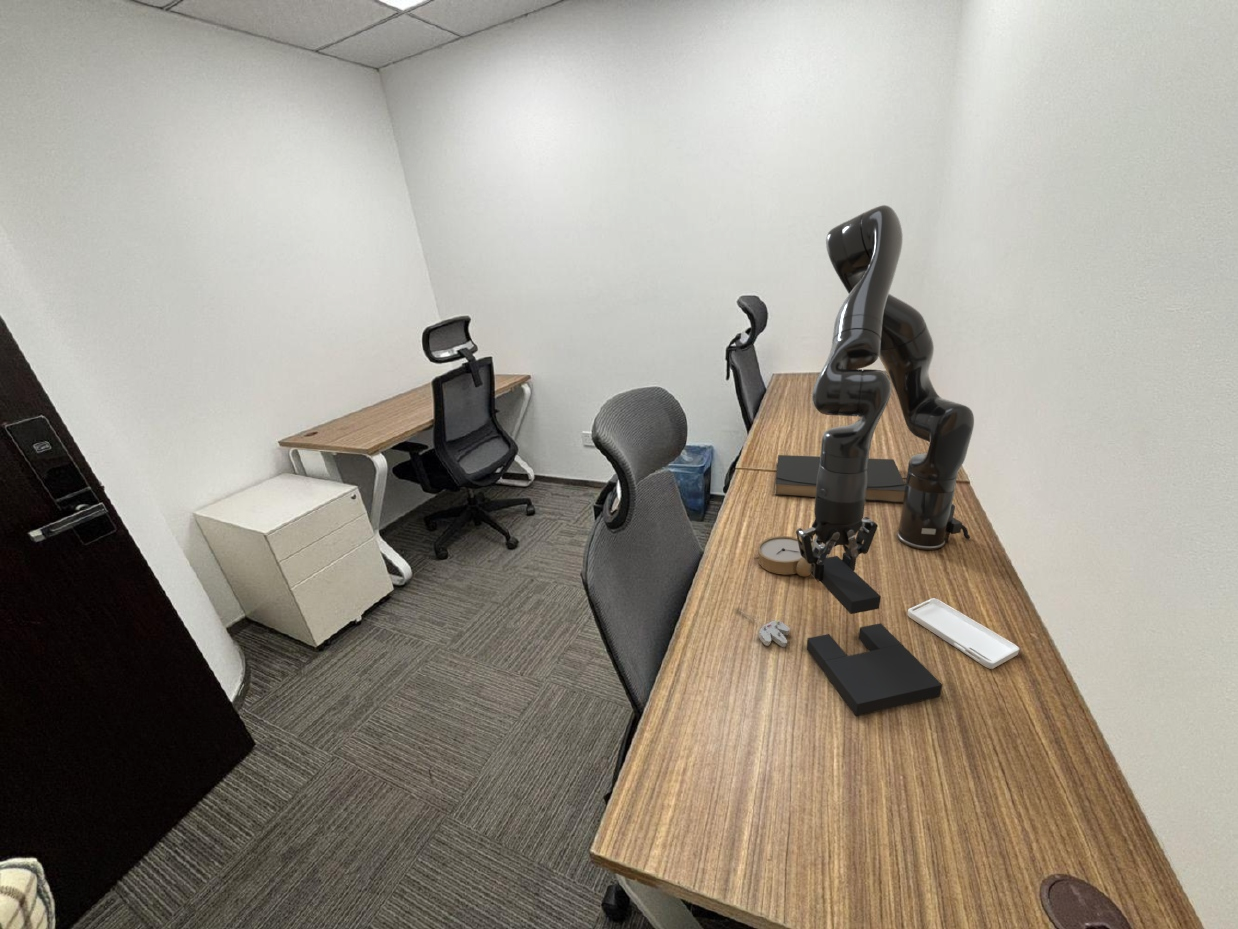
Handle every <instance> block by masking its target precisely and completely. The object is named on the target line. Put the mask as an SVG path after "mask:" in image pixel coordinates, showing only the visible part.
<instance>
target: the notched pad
mask: <svg viewBox="0 0 1238 929" xmlns="http://www.w3.org/2000/svg"><path fill="white" fill-rule="evenodd" d="M857 638H858V640H859V642H861V643H862V645H863V646H864V647H865V648H866V649H867V650H868V651H864V652H859V653H855V654H849V655H847V653H846V652H845V651H844V649H843V648H841V646H840V645H839V644H838V643H837V641H836V640H835V639H834V637H833V636H832V635H831V634H830V633H826V634H822V635H817V636H812V637H808V638H807V640H806V651H807V652H808V653H809V655H810V656H811V658H812V659H813V660H814V662H815V663H816V664H817V666H818V667H819V668H820V670H821V671H822V672H823V673H824V675H825V677H826V678H827V679H828V681H829V682H830V683H831V685H832V686H833V687H834V689H835V690H836V691H837V693H838V694H839V695H840V697H841V698H842V699H843V702H845V703H846V705H847V706H848V708H849V710H851V711H852V713H853V714H854V716H855V717H858V716H863V715H867V714H871V713H876V712H879V711H880V712H881V711H884V710H888V709H892V708H897V707H901V706H905V705H910V704H914V703H919V702H923V701H927V700H931V699H935V698H939V697H940V696H941V693H942V689H943V684H942V683H941V681H940V680H939V679H938V678H937V677H935V676H934V674H932V673H931V672H930V671H929V670H928V669H927V667H926V666H924V664H922V663H921V661H920V660H919V659H917V658H916V657H915V656H914V655H913V654H912V652H910V651H909V649H908V648H906V647H905V645H903V644H902V643H901V642H900V641H899V639H898V638H896V636H894V635H893V634H892V632H890V631H889V630H888V628H886V627H885V626H884V625H883V623H881V622H880V623H874V624H869V625H864V626H860V627H859V631H858V637H857Z"/></svg>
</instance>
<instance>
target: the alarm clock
mask: <svg viewBox="0 0 1238 929" xmlns="http://www.w3.org/2000/svg"><path fill="white" fill-rule="evenodd" d="M813 542H814V541H813ZM813 542H812V543H811V545H812V549H813V546H814V545H813ZM756 549H757V555H756V556H754V557H753V560H758V564H759V566H760V567H761V568H762V569H764V570H766V571H767V572H770V573H773V574H777V575H785V576H786V575H795V574H797V575H798V576H800V577H809V576H810V575H811V573H810V569H811V564H809V563H808V562H807V561H806V560H805V559H804V558H803V557H802V556H801V554H800V550H799V545H798V540H797V537H794V536H791V535H790V536H789V535H776V536H775V535H774V536H771V537H767V538H766V539H763V540H762V541H761V542H760V543H758V546H757V548H756ZM819 553H820V551H819ZM818 555H819V554H818ZM828 557H829V556H828V555H827V556H826V558H828Z"/></svg>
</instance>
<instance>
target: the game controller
mask: <svg viewBox="0 0 1238 929" xmlns="http://www.w3.org/2000/svg"><path fill="white" fill-rule="evenodd" d="M739 611H740V612H742V613H743V614H744V616H745V617H746V618H748V619H749V620H751V618H750V617H748V616H747V615H746V613H745V612H744V611H742V610H741V609H739ZM752 620H755V621H757V622H758V623H759V625H762V624H761V622H760V621H759V620H758V619H756V618H754V617H753V618H752ZM789 633H790V627H789V626H788V625H786V624H785V623H784V622H783V621H781V620H772V621H768V622H767V623H766V624H764V625H762V626H761V627H760V629H759V633H758V638H759V640H760V641H761V642H762V643H763V644H764V646H767V647H769V646H770V645H771V642H772V641H773V642H774V643H776V645H779V646H780V648H781V647H782V648H786V647H787V644H788V640H787V638H786V636H788V635H789Z"/></svg>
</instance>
